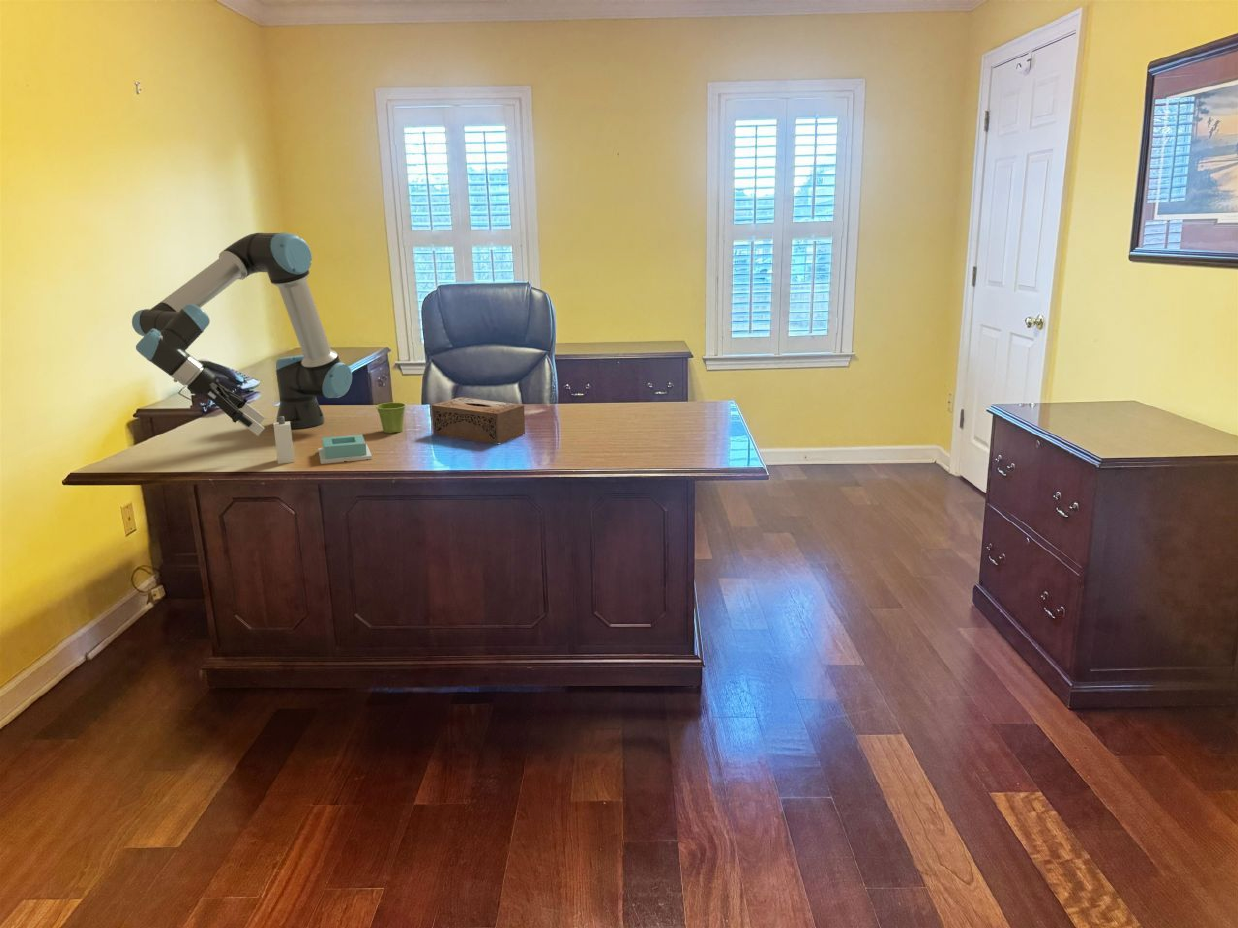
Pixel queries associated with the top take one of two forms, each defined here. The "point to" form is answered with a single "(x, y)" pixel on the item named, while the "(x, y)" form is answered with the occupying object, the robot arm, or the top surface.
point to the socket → (344, 449)
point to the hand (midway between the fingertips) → (261, 426)
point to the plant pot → (391, 416)
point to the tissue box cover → (478, 420)
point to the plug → (283, 441)
